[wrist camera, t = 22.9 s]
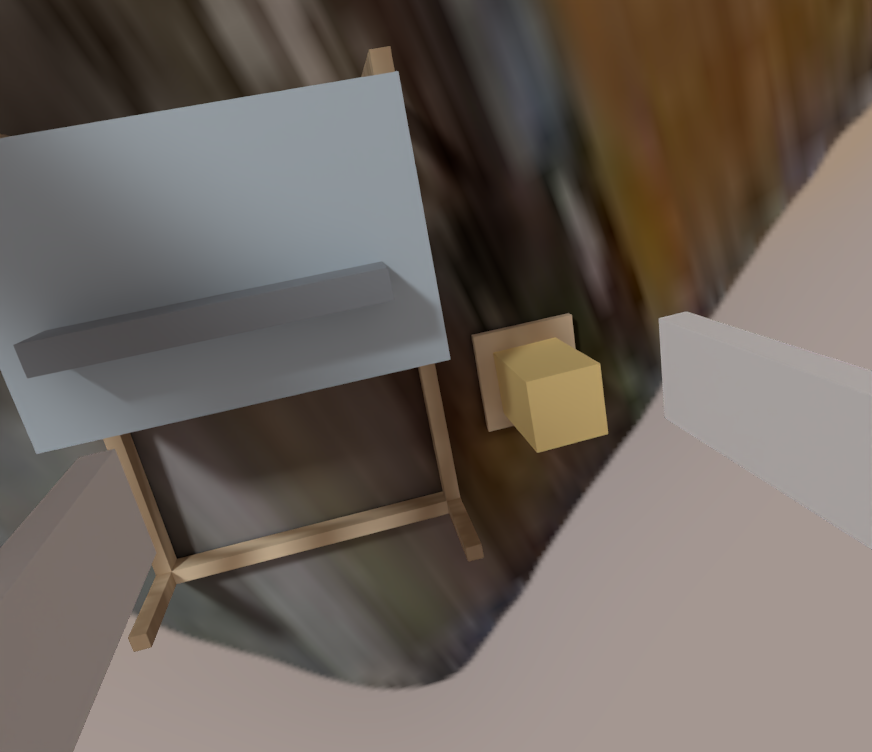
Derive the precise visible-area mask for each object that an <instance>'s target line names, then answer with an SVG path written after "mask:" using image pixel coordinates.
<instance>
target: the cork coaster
mask: <svg viewBox="0 0 872 752" xmlns="http://www.w3.org/2000/svg"><path fill="white" fill-rule="evenodd" d="M471 337H472V343H473V349H474V355H475V361H476V367H477V373H478V379H479V385H480V390H481V396H482V402H483V408H484V414H485V420H486V426H487V429H488V431H489V432H490V431H494V430H498V429H503V428H507V427H511V426H514V425H513V424H512V423H511V421H510V420H509V419H508V418H507V417H506V415H505V414H504V412H503V407H502V401H501V395H500V390H499V384H498V378H497V372H496V367H495V361H494V355H493V353H494V352H498V351H502V350H506V349H510V348H514V347H519V346H523V345H527V344H531V343H535V342H539V341H543V340H547V339H551V338H555V337H556V338H557V339H559V340H561V341H563V342H564V343H566V344H568V345H569V346H571V347H573V348H574V349H576V348H575V339H574V330H573V322H572V315H571V314H569V313H568V314H563V315H559V316H554V317H550V318H545V319H541V320H536V321H532V322H527V323H523V324H519V325H514V326H510V327H505V328H501V329H496V330H492V331H487V332H483V333H478V334H474V335H471Z"/></svg>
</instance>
